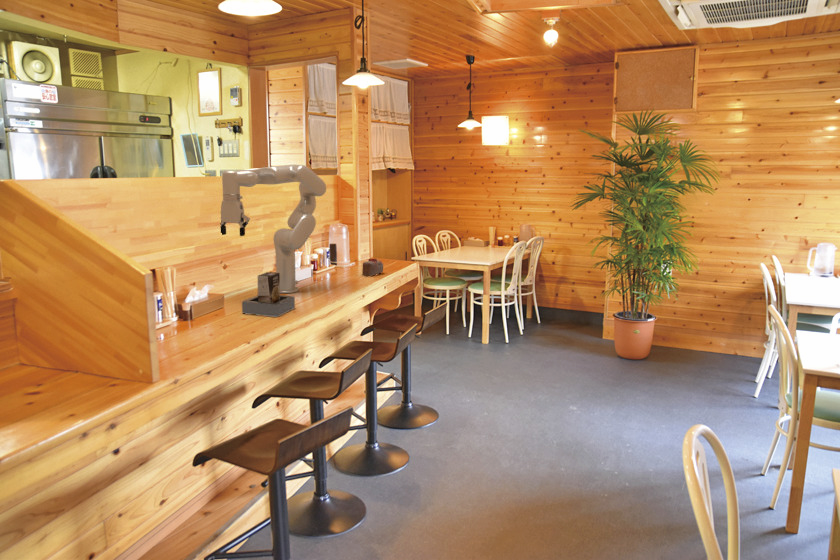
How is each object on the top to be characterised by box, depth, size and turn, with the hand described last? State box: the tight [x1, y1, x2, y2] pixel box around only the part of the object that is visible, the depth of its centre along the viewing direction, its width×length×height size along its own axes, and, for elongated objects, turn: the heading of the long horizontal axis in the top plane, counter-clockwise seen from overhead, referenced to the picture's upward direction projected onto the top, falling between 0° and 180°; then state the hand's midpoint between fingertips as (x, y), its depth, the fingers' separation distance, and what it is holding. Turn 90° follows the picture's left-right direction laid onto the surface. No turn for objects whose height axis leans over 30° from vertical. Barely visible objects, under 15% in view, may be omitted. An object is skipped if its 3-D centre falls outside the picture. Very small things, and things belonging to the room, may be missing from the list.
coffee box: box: [257, 272, 281, 303], centre depth 256 cm, size 9×6×16 cm
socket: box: [241, 294, 296, 318], centre depth 257 cm, size 16×16×5 cm
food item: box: [361, 258, 384, 277], centre depth 345 cm, size 14×8×10 cm, turn 154°
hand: (232, 235), depth 272 cm, fingers open, 9 cm apart
